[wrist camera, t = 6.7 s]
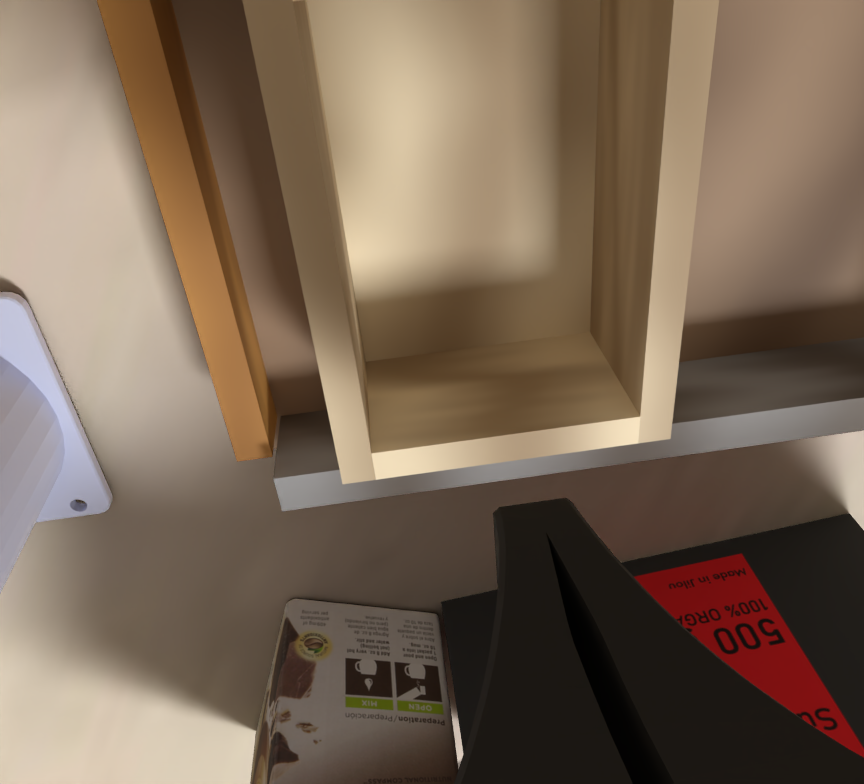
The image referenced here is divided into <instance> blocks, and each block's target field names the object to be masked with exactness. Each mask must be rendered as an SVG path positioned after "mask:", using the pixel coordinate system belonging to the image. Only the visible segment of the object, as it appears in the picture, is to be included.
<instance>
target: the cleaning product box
mask: <svg viewBox="0 0 864 784" xmlns="http://www.w3.org/2000/svg"><path fill="white" fill-rule="evenodd" d="M621 564H622V565H623V566H624V567H625V568H626V569H627V570H628V571H629V572H630V573H631V574H632V575H633V577H634V578H635V579H636V580H637V581H638V582H639V583H640V584H641V585H642V586H643V587H644V588H645V589H646V590H647V591H648V592H649V593H650V594H651V596H652V597H653V598H654V599H655V600H656V601H657V602H658V603H659V604H660V605H662V606H663V607H664V608H665V609H666V610H667V611H668V612H669V613H670V614H671V615H672V616H673V617H674V618H675V619H676V620H677V621H678V622H679V623H680V624H681V625H682V626H684V627H685V628H686V629H687V630H688V631H689V632H690V633H691V634H692V635H694V636H695V637H696V638H697V639H698V640H699V641H700V642H701V643H703V644H704V645H705V646H706V647H707V648H709V649H710V650H711V651H712V652H713V653H715V654H716V655H717V656H718V657H719V658H720V659H722V660H723V661H724V662H725V663H727V664H728V665H729V666H730V667H732V668H733V669H734V670H736V671H737V672H738V673H739V674H741V675H742V676H743V677H744V678H746V679H747V680H748V681H750V682H751V683H752V684H754V685H755V686H756V687H758V688H759V689H761V690H762V691H763V692H765V693H766V694H768V695H769V696H770V697H772V698H773V699H775V700H776V701H778V702H779V703H780V704H782V705H783V706H785V707H786V708H787V709H789V710H790V711H792V712H793V713H795V714H796V715H797V716H799V717H800V718H802V719H803V720H804V721H806V722H807V723H809V724H810V725H812V726H814V727H815V728H817V729H818V730H820V731H821V732H823V733H825V734H826V735H828V736H829V737H831V738H832V739H834V740H835V741H837V742H839V743H840V744H842V745H843V746H845V747H846V748H848V749H850V750H851V751H853V752H855V753H857V754H859V755H860V756H862V757H864V530H863V529H862V528H861V527H860V526H859V524H858V523H857V522H856V521H855V520H854V518H853V517H852V516H851V515H850V514H844V515H840V516H835V517H830V518H826V519H821V520H817V521H812V522H807V523H803V524H798V525H794V526H789V527H784V528H780V529H775V530H770V531H766V532H761V533H757V534H752V535H747V536H743V537H738V538H734V539H729V540H724V541H720V542H715V543H710V544H706V545H701V546H697V547H692V548H687V549H683V550H678V551H674V552H669V553H664V554H660V555H655V556H650V557H646V558H641V559H637V560H632V561H627V562H623V563H621ZM497 592H498V590H493V591H489V592H484V593H480V594H475V595H470V596H466V597H461V598H457V599H452V600H447V601H443V602H441V604H442V610H443V617H444V624H445V631H446V638H447V644H448V651H449V658H450V665H451V671H452V678H453V685H454V692H455V699H456V705H457V712H458V719H459V726H460V732H461V739H462V746H463V753H464V752H465V749H466V746H467V742H468V739H469V736H470V732H471V729H472V725H473V721H474V717H475V714H476V710H477V706H478V702H479V698H480V694H481V690H482V686H483V681H484V677H485V672H486V667H487V662H488V657H489V652H490V646H491V640H492V633H493V626H494V619H495V612H496V604H497Z"/></svg>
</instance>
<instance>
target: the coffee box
mask: <svg viewBox="0 0 864 784" xmlns="http://www.w3.org/2000/svg"><path fill="white" fill-rule="evenodd" d="M457 773H458V763H457V755H456V748H455V738H454V732H453V724H452V716H451V708H450V700H449V694H448V687H447V678H446V670H445V663H444V655H443V647H442V639H441V631H440V621H439V617H438V615H436V614H434V613H427V612H418V611H408V610H397V609H388V608H380V607H370V606H360V605H352V604H342V603H332V602H322V601H313V600H304V599H292V600H290V601H289V602H287V604H286V606H285V610H284V614H283V618H282V622H281V626H280V630H279V635H278V639H277V644H276V648H275V653H274V657H273V661H272V666H271V670H270V675H269V679H268V683H267V687H266V691H265V696H264V700H263V704H262V709H261V713H260V717H259V721H258V726H257V730H256V736H255V745H254V755H253V764H252V773H251V782H250V784H454V782H455V779H456V776H457Z"/></svg>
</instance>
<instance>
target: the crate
mask: <svg viewBox="0 0 864 784" xmlns="http://www.w3.org/2000/svg"><path fill="white" fill-rule="evenodd" d="M242 1H243V6H244V11H245V15H246V20H247V25H248V30H249V35H250V39H251V44H252V49H253V54H254V59H255V64H256V68H257V73H258V78H259V83H260V88H261V93H262V97H263V102H264V107H265V112H266V117H267V122H268V126H269V131H270V136H271V141H272V146H273V151H274V155H275V160H276V165H277V170H278V175H279V179H280V184H281V189H282V194H283V199H284V204H285V208H286V213H287V218H288V223H289V228H290V233H291V237H292V242H293V247H294V252H295V257H296V262H297V266H298V271H299V276H300V281H301V286H302V291H303V295H304V300H305V305H306V310H307V315H308V319H309V324H310V329H311V334H312V339H313V344H314V348H315V353H316V358H317V363H318V368H319V373H320V377H321V382H322V387H323V392H324V397H325V402H326V406H327V411H328V416H329V421H330V426H331V431H332V435H333V440H334V445H335V450H336V455H337V459H338V464H339V469H340V474H341V479H342V484H349V483H356V482H363V481H370V480H378V479H385V478H392V477H399V476H407V475H414V474H421V473H428V472H435V471H443V470H450V469H457V468H464V467H471V466H479V465H486V464H493V463H500V462H507V461H515V460H522V459H529V458H536V457H544V456H551V455H558V454H565V453H572V452H580V451H587V450H594V449H601V448H608V447H616V446H623V445H630V444H637V443H645V442H652V441H659V440H666V439H671V430H672V421H673V412H674V403H675V394H676V385H677V376H678V367H679V358H680V349H681V340H682V331H683V322H684V313H685V303H686V294H687V285H688V276H689V267H690V258H691V249H692V240H693V231H694V222H695V213H696V204H697V195H698V186H699V177H700V168H701V159H702V150H703V141H704V132H705V123H706V114H707V105H708V96H709V87H710V78H711V69H712V60H713V51H714V42H715V33H716V24H717V15H718V6H719V0H242Z"/></svg>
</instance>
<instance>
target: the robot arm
mask: <svg viewBox="0 0 864 784" xmlns="http://www.w3.org/2000/svg"><path fill="white" fill-rule="evenodd" d="M75 499H78V500H82V501H84V502H85V504H84V503H79V502H77V501H76V500H75ZM112 500H113V497H112V493H111V491H110V488H109V486H108V484H107V482H106V479H105V477H104V475H103V472H102V470H101V468H100V466H99V463H98V461H97V459H96V456H95V454H94V452H93V450H92V447H91V445H90V443H89V440H88V438H87V436H86V434H85V431H84V429H83V427H82V425H81V422H80V420H79V418H78V415H77V413H76V411H75V409H74V406H73V404H72V402H71V399H70V397H69V395H68V393H67V390H66V388H65V386H64V383H63V381H62V379H61V377H60V374H59V372H58V370H57V368H56V365H55V363H54V361H53V358H52V356H51V354H50V352H49V349H48V347H47V345H46V342H45V340H44V338H43V336H42V333H41V331H40V329H39V327H38V324H37V322H36V320H35V317H34V315H33V313H32V311H31V308H30V306H29V304H28V303H27V301H26V300H25V299H24V298H22V297H21V296H20V295H18V294H15V293H12V292H0V593H1V591H2V589H3V587H4V585H5V583H6V581H7V579H8V577H9V575H10V573H11V571H12V569H13V567H14V565H15V563H16V561H17V559H18V557H19V555H20V553H21V551H22V549H23V547H24V545H25V543H26V541H27V539H28V537H29V534H30V532H31V530H32V528H33V526H34V524H35V523H36V522H43V521H50V520H57V519H65V518H72V517H79V516H86V515H94V514H100V513H103V512H106V511H107V510H108V509H109V507H110V505H111V502H112ZM493 518H494V535H495V551H496V568H497V583H498V592H497V604H496V612H495V619H494V626H493V633H492V640H491V646H490V652H489V657H488V662H487V667H486V672H485V677H484V681H483V686H482V690H481V694H480V698H479V702H478V706H477V710H476V714H475V717H474V721H473V725H472V729H471V732H470V736H469V739H468V742H467V746H466V749H465V752H464V755H463V758H462V761H461V764H460V767H459V770H458V773H457V776H456V779H455V782H454V784H864V757H862V756H860V755H859V754H857V753H855V752H853V751H851V750H850V749H848V748H846V747H845V746H843V745H842V744H840V743H839V742H837V741H835V740H834V739H832V738H831V737H829V736H828V735H826V734H825V733H823V732H821V731H820V730H818V729H817V728H815V727H814V726H812V725H810V724H809V723H807V722H806V721H804V720H803V719H802V718H800V717H799V716H797V715H796V714H795V713H793V712H792V711H790V710H789V709H787V708H786V707H785V706H783V705H782V704H780V703H779V702H778V701H776V700H775V699H773V698H772V697H770V696H769V695H768V694H766V693H765V692H763V691H762V690H761V689H759V688H758V687H756V686H755V685H754V684H752V683H751V682H750V681H748V680H747V679H746V678H744V677H743V676H742V675H741V674H739V673H738V672H737V671H736V670H734V669H733V668H732V667H730V666H729V665H728V664H727V663H725V662H724V661H723V660H722V659H720V658H719V657H718V656H717V655H716V654H715V653H713V652H712V651H711V650H710V649H709V648H707V647H706V646H705V645H704V644H703V643H701V642H700V641H699V640H698V639H697V638H696V637H695V636H694V635H692V634H691V633H690V632H689V631H688V630H687V629H686V628H685V627H684V626H682V625H681V624H680V623H679V622H678V621H677V620H676V619H675V618H674V617H673V616H672V615H671V614H670V613H669V612H668V611H667V610H666V609H665V608H664V607H663V606H662V605H660V604H659V603H658V602H657V601H656V600H655V599H654V598H653V597H652V596H651V594H650V593H649V592H648V591H647V590H646V589H645V588H644V587H643V586H642V585H641V584H640V583H639V582H638V581H637V580H636V579H635V578H634V577H633V575H632V574H631V573H630V572H629V571H628V570H627V569H626V568H625V567H624V566H623V565H622V564H621V563H620V561H619V560H618V559H617V558H616V557H615V556H614V555H613V553H612V552H611V551H610V550H609V549H608V548H607V546H606V545H605V544H604V543H603V542H602V540H601V539H600V538H599V537H598V536H597V534H596V533H595V532H594V531H593V529H592V528H591V527H590V526H589V524H588V523H587V522H586V520H585V519H584V518H583V517H582V515H581V514H580V513H579V511H578V510H577V509H576V507H575V506H574V504H573V503H572V502H571V501H570V500H568V499H567V498H562V499H555V500H548V501H541V502H534V503H527V504H520V505H512V506H505V507H499V508H498V509H497V510H496V511H495V512H494V513H493Z"/></svg>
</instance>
